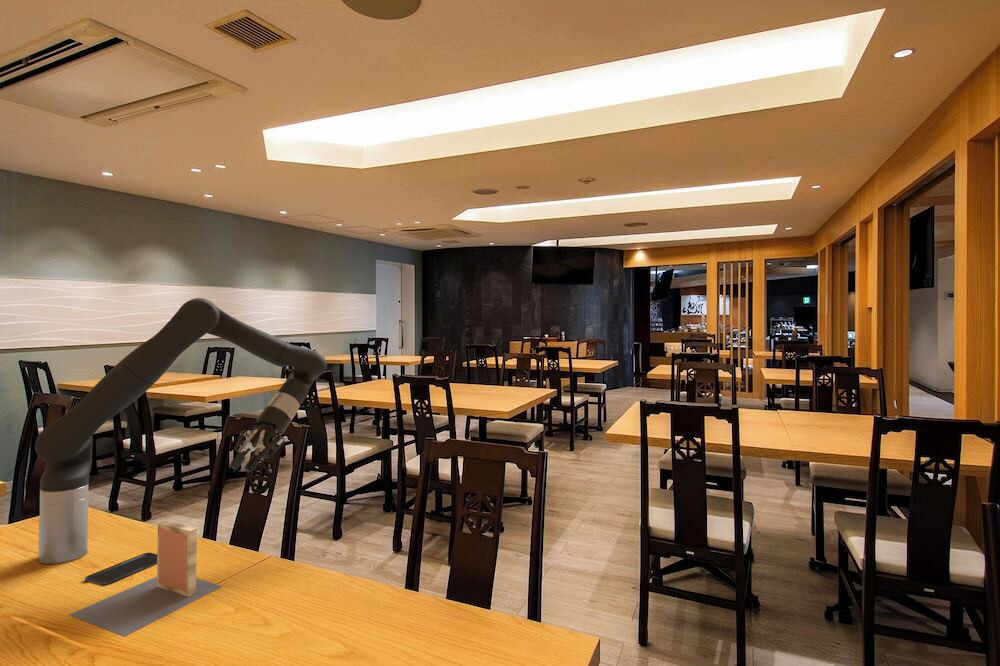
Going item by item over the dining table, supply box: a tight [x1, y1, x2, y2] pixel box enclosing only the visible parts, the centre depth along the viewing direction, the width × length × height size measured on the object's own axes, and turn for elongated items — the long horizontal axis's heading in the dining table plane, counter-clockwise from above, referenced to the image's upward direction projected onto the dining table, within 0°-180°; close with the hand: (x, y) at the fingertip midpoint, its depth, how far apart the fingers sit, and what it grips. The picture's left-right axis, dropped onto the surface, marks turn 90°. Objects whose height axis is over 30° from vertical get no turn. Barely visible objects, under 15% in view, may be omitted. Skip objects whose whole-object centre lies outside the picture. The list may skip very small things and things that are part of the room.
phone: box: [84, 552, 157, 586], centre depth 125 cm, size 8×1×15 cm
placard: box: [156, 520, 198, 597], centre depth 116 cm, size 10×2×14 cm, turn 67°
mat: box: [68, 576, 224, 637], centre depth 112 cm, size 17×21×1 cm
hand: (240, 469), depth 133 cm, fingers open, 4 cm apart
